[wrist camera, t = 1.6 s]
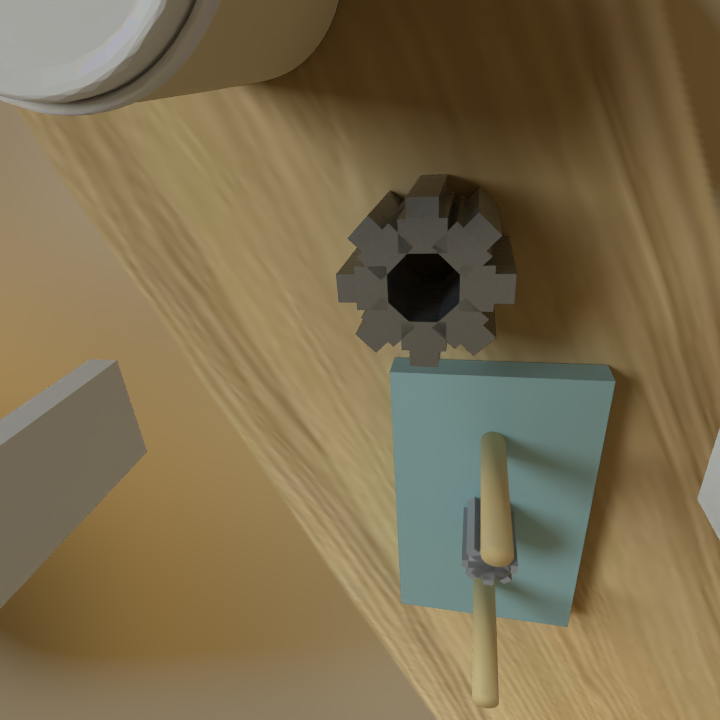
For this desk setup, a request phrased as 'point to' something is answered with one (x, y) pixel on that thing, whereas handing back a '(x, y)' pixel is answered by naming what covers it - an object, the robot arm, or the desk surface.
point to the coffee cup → (148, 48)
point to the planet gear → (429, 295)
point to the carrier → (495, 490)
